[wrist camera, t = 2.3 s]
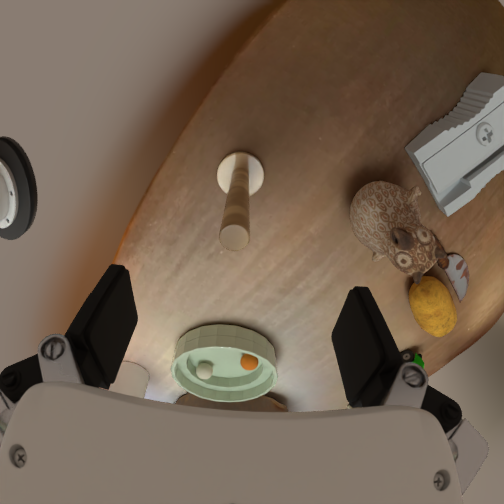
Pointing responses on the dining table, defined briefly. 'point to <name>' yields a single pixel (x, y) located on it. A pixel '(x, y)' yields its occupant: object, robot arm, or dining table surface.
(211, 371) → the cream ball
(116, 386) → the cylindrical container
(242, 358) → the orange ball
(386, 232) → the figurine
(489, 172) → the wedge sharpener
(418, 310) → the potato
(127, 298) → the robot arm
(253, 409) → the container
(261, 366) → the bowl
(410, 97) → the dining table surface
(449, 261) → the kitchen knife
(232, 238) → the wooden peg stand
